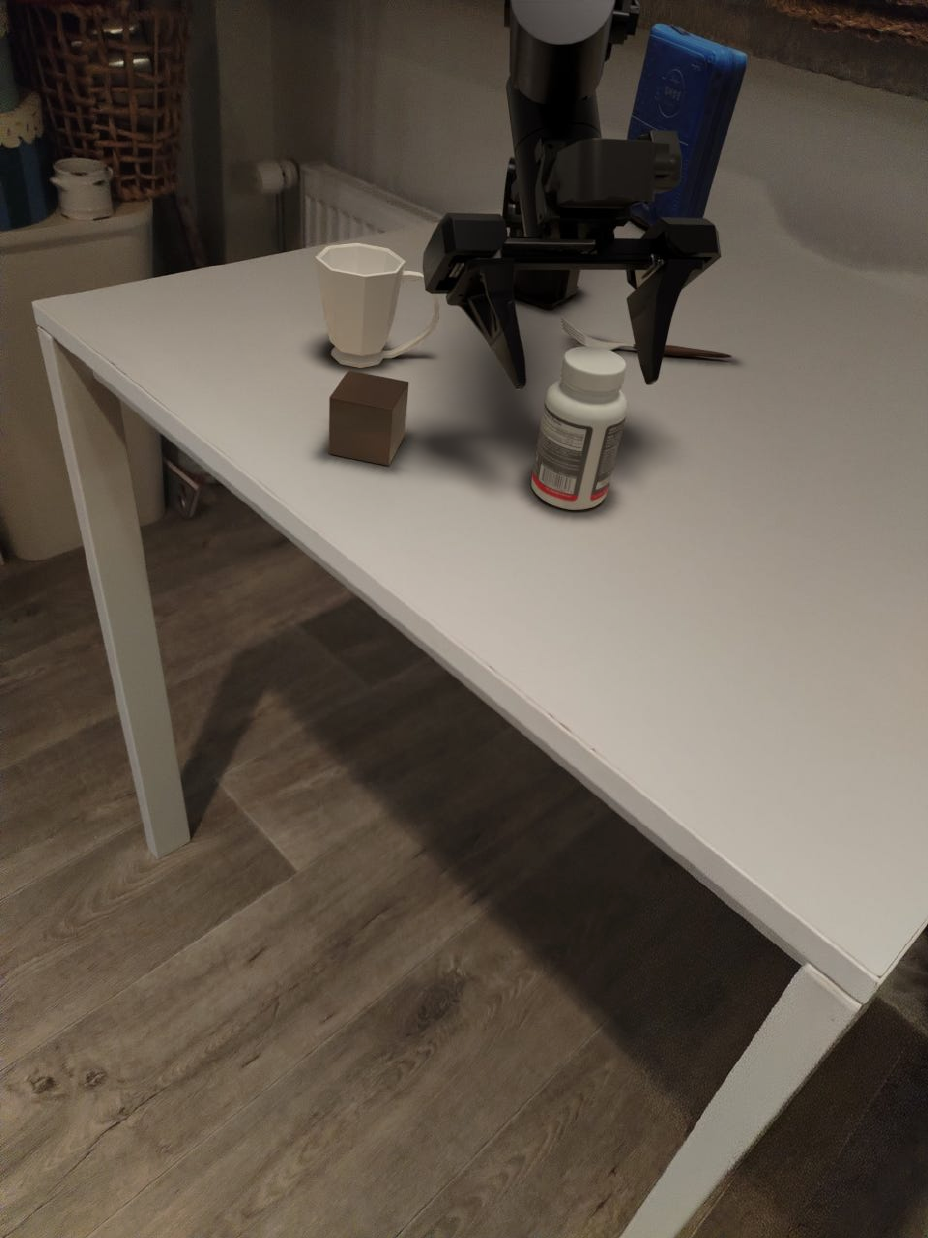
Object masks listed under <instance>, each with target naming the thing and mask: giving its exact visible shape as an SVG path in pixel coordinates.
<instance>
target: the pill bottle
mask: <svg viewBox="0 0 928 1238" xmlns="http://www.w3.org/2000/svg"><path fill="white" fill-rule="evenodd" d="M626 371H627V362H626V360H625V359H624V358H623V357H622V356H621V355H619V354H617V353H616V352H614V351H613V350H611V351H610V350H607V349H603V348H599V347H591V346H583V345H581V346H575V347H572V348H570V349H568V350H567V351H566V352H565V353H564V355H563V358H562V364H561V368H560V378H561V379H559V380H557V381H555V382H553V383H552V385H550V387H549V388H548V389H547V392H546V395H545V398H544V405H543V406H544V407H543V411H542V415H541V421H540V427H539V432H538V433H539V434H538V439H537V445H536V450H535V456H534V461H533V467H532V474H531V488H532V490H533V491H534V493H535V494H536V495H537V496H538V497H539V498H540V499H541V500H543V501H544V502H546V503H548V504H550V505H552V506H554V507H558V508H561V509H566V510H571V511H572V510H573V511H575V510H576V511H577V510H579V511H580V510H587V509H590V508H594V507H597V506H598V505H599V504H601V503H602V502H603V501H604V500H605V498H606V497H607V494H608V490H609V487H610V482H611V480H612V475H613V471H614V466H615V463H616V458H617V454H618V449H619V445H620V442H621V437H622V434H623V429H624V426H625V422H626V419H627V414H628V407H629V406H628V401H627V397H626V396H625V393H623V392H622V390H621V388H622V387H623V384H624V383H625V375H626Z"/></svg>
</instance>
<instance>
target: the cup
mask: <svg viewBox="0 0 928 1238" xmlns="http://www.w3.org/2000/svg"><path fill="white" fill-rule="evenodd" d="M406 262H407V260H405V259H404V258H402V257H401V256H399V255H398V254H397V253H395V252H394V251H393V250H391V249H390V248H388V247H383V246H377V245H372V244H368V243H367V244H366V243H360V242H350V243H341V244H332V245H326V246H325V247H324V248H323V249H322V250H321V251H320V252H319V253H318V254H317V255H316V256H315V265H316V272H317V279H318V284H319V289H320V290H319V291H320V298H321V305H322V313H323V319H324V322H325V327H326V330H327V334H328V338H329V342H330V343H331V344H332V345H333V346H334V347H333V348H332V349H331V353H330V355H331V357H333V359H335V360H336V361H337V362H338V363H339V364H340V365H343V366H348V367H352V368H353V367H354V368H359V369H362V368H369V367H373V366H379V365H380V364H381V362H382V361H383V359H393V358H396V357H398V356H400V355H403V354H405V353H407V352H408V351H410V350H412V349H413V348H415V347H416V346H418V345H419V344H421V343H422V342H425V340H427V339H428V337H430V335H431V334H432V333H434V331H435V330H436V327H437V324H438V321H439V319H440V303H439V296H438V294H432V299H433V304H434V305H433V310H434V311H433V312H434V314H433V316H432V319H431V321H430V324H429V325H428V326H427V327H426V328H425V329H424V330H423V331H422V332H420V333H419V334H418V335H416V336H415V337H413V338H412V339H411V340H410V339H409V341H407V342H406V343H403V344H402V345H401V346H398V347H396V348H393V349H391V350H383V348H384V347H385V345H386V344H387V341H388V338H389V335H390V332H391V329H392V326H393V323H394V320H395V316H396V310H397V305H398V302H399V301H398V300H399V295H400V290H401V287H402V284H404V283H408V282H416V281H421V282H423V283H424V275H423V272H419V271H413V270H412V271H411V270H405V267H406Z"/></svg>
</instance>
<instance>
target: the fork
mask: <svg viewBox="0 0 928 1238" xmlns="http://www.w3.org/2000/svg"><path fill="white" fill-rule="evenodd" d="M560 320H561V321H560V322H561V323H562V324H561V326H562V330H563V331H564V332H566V333H567V334H568V335H569V336H570V337H571V338H572V339H573V340H575V341H576V342H577V343H579V344H580V345H581V346H591V347H599V348H603V349H607V350H610V351H614V350H616V349H620V348H627V349H633V350H636V345H635V343H625V342H624V343H623V342H621V343H620V342H611V341H610V342H609V341H604V340H598V339H595V338H592V337H590V336H588V335H586V334H584V333H583V332H581V331H580V330H578V329H577V328H576V327H575V326H573V324H571V323H569V321H567V320H566V319H565V318H564V317H563V316H560ZM664 355H668V356H678V357H679V356H680V357H700V358H701V357H702V358H712V359H713V358H714V359H730V358H732V355H731V354H728V353H723V352H719V351H713V350H705V349H698V348H692V347H687V346H686V347H685V346H680V345H670V344H666V346H665V351H664Z"/></svg>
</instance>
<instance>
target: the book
mask: <svg viewBox="0 0 928 1238" xmlns="http://www.w3.org/2000/svg"><path fill="white" fill-rule="evenodd" d="M748 63H749V62H748V55H747V53H745V52H743V51H741V50H738V49H734V48H731V47H730V46H725V45H722V44H720V43H718V42H714V41H711V40H709V39H707V38H706V39H705V38H703V37H701V36H698V35H695V34H693V33H691V32H689V31H687V30H685V29H683V27H680V26H678V25H676V24H664V23H663V24H662V23H657V24H654V25H653V26H652V27H651V29H650V32H649V35H648V39H647V43H646V50H645V55H644V59H643V62H642V67H641V72H640V76H639V80H638V84H637V88H636V89H637V90H636V94H635V97H634V102H633V108H632V113H631V116H630V119H629V125H628V130H627V136H626V140H638V137H639V136H640V135H642V134H648V133H649V131H651V130H665V131H677V136H678V140H679V145H680V150H681V155H682V169H681V180H680V182H679V184H678V186H677V187H676V188H675V189H673V190H670V191H666V192H663V193H655V195H654V203H652V204H645V203H644V202H643V203H640V204H637V205H634V206H631V215H632V218H631V219H633V220H634V221H635V222H636V223H638V224H640V225H641V226H643V227H645V228H647V229H649V228H650V227H651V226H652V225H653V224H654V223H655V222H656V221H657V220H658V219H659V218H660V217H669V218H704V215H705V212H706V208H707V204H708V200H709V197H710V194H711V191H712V186H713V183H714V180H715V176H716V173H717V169H718V166H719V163H720V159H721V155H722V151H723V148H724V146H725V141H726V138H727V136H728V132H729V128H730V125H731V121H732V118H733V114H734V111H735V109H736V106H737V105H736V104H737V101H738V98H739V95H740V92H741V89H742V86H743V82H744V79H745V74H746V71H747V69H748Z"/></svg>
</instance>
